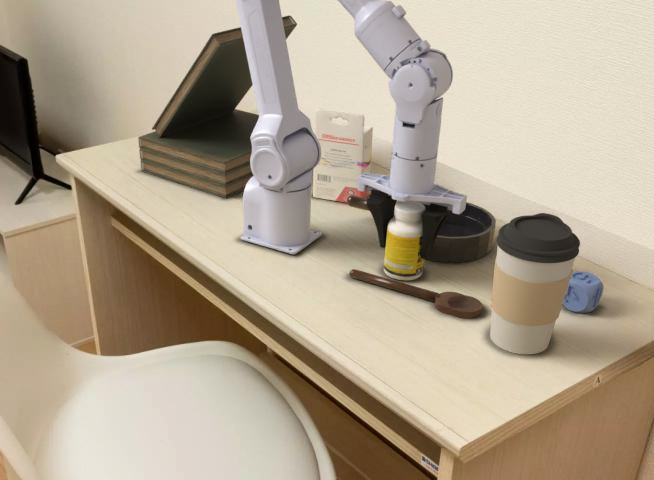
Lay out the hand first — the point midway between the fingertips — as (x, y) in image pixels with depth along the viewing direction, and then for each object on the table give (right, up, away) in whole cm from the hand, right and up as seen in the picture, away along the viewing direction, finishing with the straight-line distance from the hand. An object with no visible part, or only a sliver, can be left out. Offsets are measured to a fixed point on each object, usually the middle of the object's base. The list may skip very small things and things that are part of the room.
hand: (405, 250), depth 107 cm
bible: (-28, +19, +35) cm, 48 cm away
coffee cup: (+12, -12, -12) cm, 21 cm away
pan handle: (-3, +7, +14) cm, 16 cm away
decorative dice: (+22, -8, -5) cm, 24 cm away
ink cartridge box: (-8, +11, +24) cm, 28 cm away
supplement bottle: (0, -3, +2) cm, 4 cm away
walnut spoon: (+1, -6, -4) cm, 7 cm away
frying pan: (+7, +2, +10) cm, 13 cm away
